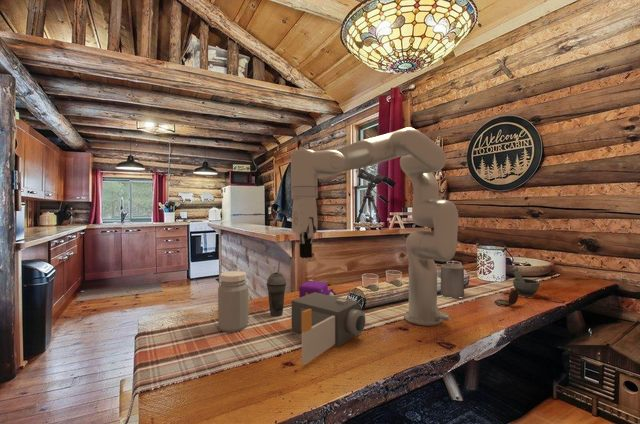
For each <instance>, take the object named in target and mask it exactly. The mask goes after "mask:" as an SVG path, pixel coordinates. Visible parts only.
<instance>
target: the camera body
mask: <svg viewBox="0 0 640 424" xmlns="http://www.w3.org/2000/svg"><path fill="white" fill-rule="evenodd" d="M307 309H312V326H314V325H316V324H318V323H320V322H321V321H323V320H325V319H327V318H329V317H331V316H335V344H334V345H333V346H334V347H336V348H339V347H341V346H342V345H344V344H345V343H347V342H348V341H350V340H351V339H353V338H354V337H356V336H360V335H362V333H363V331H364V329H365V326H366V314H365V312H364V311H363V310H360V301H357V300H352V299H348V298H343V297H339V296H335V295H334V296H330V295H325V294H321V293H316V292H314V293H311V294H308V295H306V296H303V297H300V298H299V297H298V298H297V297H296V298H295V299H292V300H291V332H292V333H295V334H297V333H298V335H300V334H302V312H303V311H305V310H307ZM333 346H332V347H333Z"/></svg>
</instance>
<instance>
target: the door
mask: <svg viewBox="0 0 640 424" xmlns="http://www.w3.org/2000/svg"><path fill="white" fill-rule="evenodd" d="M334 344H335V316H331V317H329V318H327V319H325V320H323V321H321V322H320V323H318V324H316V325H314V326H312V309H307V310H305V311H303V312H302V335H301V364H302V365H304V366H305V365H306V364H308V363H309V362H311V361H313V360H314V359H315V358H317V357H318V356H319V355H322V354H323V353H324V352H326V351H327V350H329V349H330V348H332V347H333V345H334Z"/></svg>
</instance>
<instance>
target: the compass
mask: <svg viewBox="0 0 640 424" xmlns="http://www.w3.org/2000/svg"><path fill="white" fill-rule="evenodd" d="M518 298H519V296H518V291H517V290H516V289H515V288H512V289H511V290H510V292H509V295H508V300H507V299H502V298H498V299H496V300H494V304H495V303H496V304H495V305H497V306H500V305H505V306H504V307H507V306H508V307H512V306H513V305H515V304H516V303H517V301H518V300H519V299H518ZM499 301H500V302H499ZM499 304H500V305H499ZM511 305H512V306H511Z"/></svg>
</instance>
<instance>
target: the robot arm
mask: <svg viewBox="0 0 640 424" xmlns="http://www.w3.org/2000/svg"><path fill="white" fill-rule="evenodd" d="M443 149H444V148H442V147H441V146H440V145H439V144H438V143H436V142H435V141H433V140H432V139H431V138H429V137H428V136H427V135H426V134H424V133H423V132H421V131H420V130H418V129H415V128H413V127H410V126H408V127H404V128H401V129H398V130H395V131H392V132H387V133H385V134H380V135H377V136H373V137H369V138H364V139H361V140H358V141H355V142H353V143H351V144H348V145H346V146H343V147H340V148H337V149H326V150H325V149H324V150H313V149H305V148H301V149H296V150H293V151H292V152H291V153H290V181H291V182H290V183H291V186H290V187H291V188H290V189H291V191H290V192H291V193H290V194H291V200H292V206H291V207H292V208H291V209H292V210H291V211H292V212H291V231H292V232H293V233H295V234H297V236H298V242H299V244H298V245H299V257H300V258H301V259H309V258H312V256H313V248H312V247H313V239H314V237H315V233H317V232H318V225H319V224H318V223H319V221H318V207H317V199H318V198H319V196H318V179H324V178H328V177H334V176H337V175H339V174H341V173H343V172H346V171H350V170H359V169H363V168H368V167H370V166H374V165H377V164H380V163H384V162H387V161H390V160H394V159H397V158H400V159H399V165H400V169H401V170H402V172H403V174H405V175H406V176H407V177H408V179H409V180H410V181H411V183H412V188H413V189H412V190H413V191H412V194H413V196H412V213H411V217H412V222H413V223H414V224H415V225H417V226H419V227H423V228H434V229H433V231H432V230H414V231H412V232H410V233H409V235H407V237H406V242H405V247H406V253H407V261H408V311H406V312H405V313H404V314H403V316H404V319H405V321H407V322H408V323H412V324H413V325H418V326H426V327H427V326H429V327H430V326H431V327H432V326H437V325H440V324H441V323H442V320H443V321H447V322H449V321H450V320H451V317H450V315H449V313H447V312H442V311H441V310H440V307H439V306H438V270H437V266H436V265H437V264H436V263H435V261H437V262H449V261H450V260H452V259H453V258H454V257H455V254H456V251H457V248H458V247H457V246H458V245H457V244H458V234H459V233H458V231H459V212H458V209H457V207H456V204H454V203H453V202H452V201H451V200H448V199H439V183H438V181H437V179H436V177H435V176H434V174H433V173H436V172H439V171H441V170H442V169H443V168H444V167H445V166H446V163H447V155H446V153H445V150H443Z"/></svg>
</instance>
